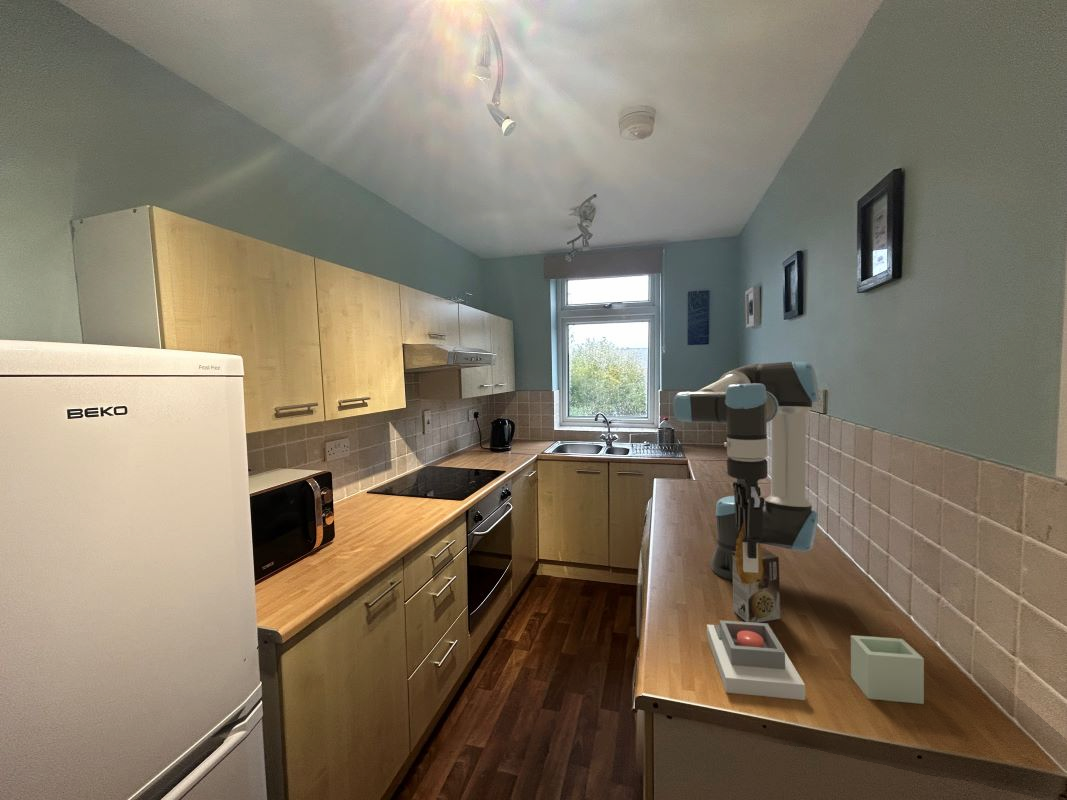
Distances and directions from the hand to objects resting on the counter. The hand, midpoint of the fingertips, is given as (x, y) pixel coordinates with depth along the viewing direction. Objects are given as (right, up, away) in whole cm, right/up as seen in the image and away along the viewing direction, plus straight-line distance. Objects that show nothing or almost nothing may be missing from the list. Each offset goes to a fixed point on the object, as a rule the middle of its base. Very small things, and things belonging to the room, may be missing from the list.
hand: (748, 568), depth 89 cm
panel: (+1, -21, +1) cm, 21 cm away
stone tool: (0, -4, 0) cm, 4 cm away
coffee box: (+12, -20, +19) cm, 30 cm away
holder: (+23, -20, -7) cm, 31 cm away
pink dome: (+1, -18, +1) cm, 18 cm away
